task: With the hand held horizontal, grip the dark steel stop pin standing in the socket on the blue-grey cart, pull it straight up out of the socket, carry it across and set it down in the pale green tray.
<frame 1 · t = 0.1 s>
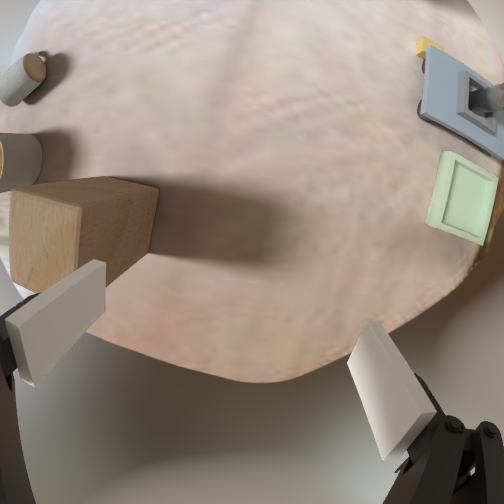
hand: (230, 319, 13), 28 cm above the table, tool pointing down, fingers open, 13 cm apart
ceramic mug: (32, 77, 34), on the table
stop pin: (474, 102, 29), point 5 cm above the table, touching cart
grey cylindrical piece: (22, 155, 38), on the table
cart: (456, 106, 34), on the table
tray: (459, 198, 38), on the table
wooden block: (125, 213, 41), on the table
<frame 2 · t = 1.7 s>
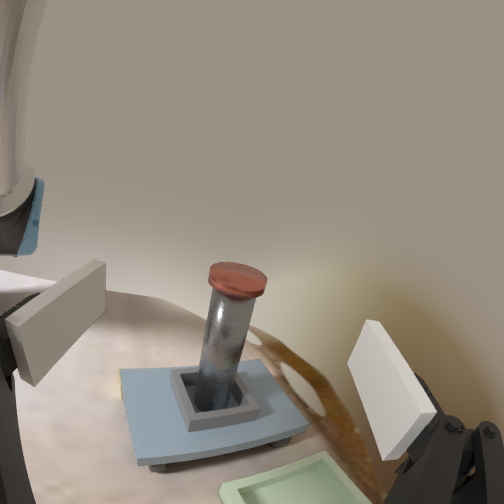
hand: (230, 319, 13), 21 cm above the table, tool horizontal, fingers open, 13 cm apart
stop pin: (210, 401, 27), point 5 cm above the table, touching cart
cart: (205, 428, 29), on the table
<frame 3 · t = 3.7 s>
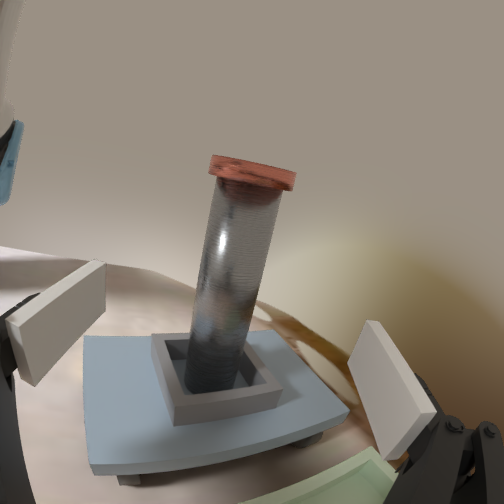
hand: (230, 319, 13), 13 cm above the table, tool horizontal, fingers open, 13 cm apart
stop pin: (208, 382, 19), point 5 cm above the table, touching cart
cart: (201, 422, 21), on the table
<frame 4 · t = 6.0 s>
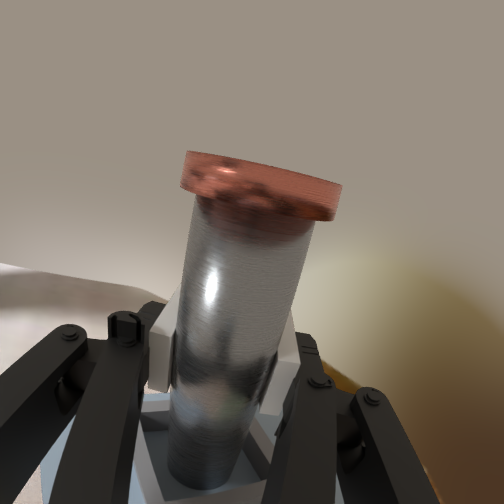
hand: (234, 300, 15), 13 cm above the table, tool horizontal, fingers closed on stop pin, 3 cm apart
stop pin: (199, 464, 12), point 5 cm above the table, touching cart, gripper
cart: (193, 494, 14), on the table
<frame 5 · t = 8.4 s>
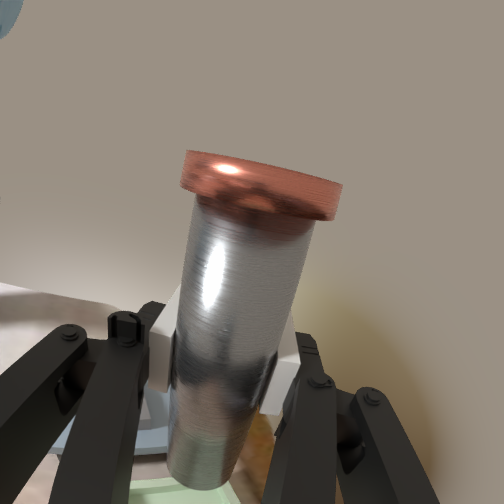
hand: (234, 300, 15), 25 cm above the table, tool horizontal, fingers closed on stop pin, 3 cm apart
stop pin: (199, 464, 12), point 17 cm above the table, touching gripper
cart: (118, 430, 28), on the table
when the fingers open (10 cm above the table, at t = 11.3 s): stop pin drops 1 cm, resting on tray.
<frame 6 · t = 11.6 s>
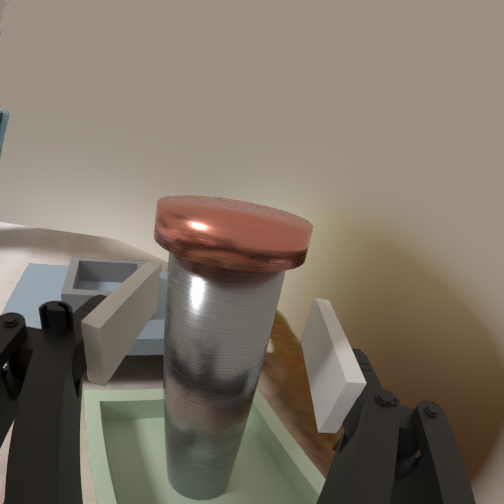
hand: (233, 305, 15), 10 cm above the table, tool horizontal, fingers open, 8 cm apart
stop pin: (198, 475, 13), point 1 cm above the table, touching tray
cart: (108, 342, 24), on the table
tray: (196, 481, 13), on the table
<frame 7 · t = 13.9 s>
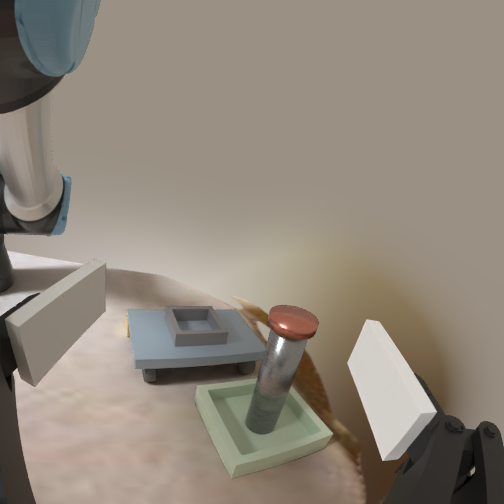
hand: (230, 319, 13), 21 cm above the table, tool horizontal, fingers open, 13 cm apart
stop pin: (260, 423, 30), point 1 cm above the table, touching tray
cart: (190, 358, 41), on the table
tray: (257, 427, 30), on the table
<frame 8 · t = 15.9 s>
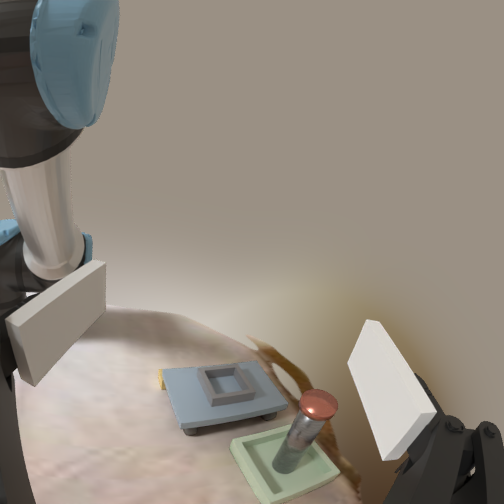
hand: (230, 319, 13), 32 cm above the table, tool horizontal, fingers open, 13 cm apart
stop pin: (283, 464, 34), point 1 cm above the table, touching tray
cart: (219, 407, 45), on the table
tray: (281, 467, 34), on the table
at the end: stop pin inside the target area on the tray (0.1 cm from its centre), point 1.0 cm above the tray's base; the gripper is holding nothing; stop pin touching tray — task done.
